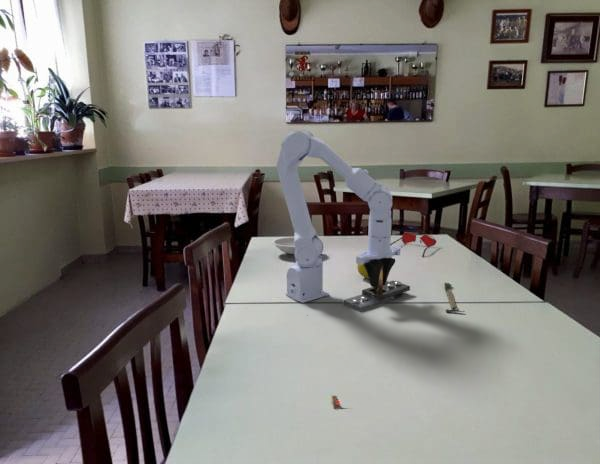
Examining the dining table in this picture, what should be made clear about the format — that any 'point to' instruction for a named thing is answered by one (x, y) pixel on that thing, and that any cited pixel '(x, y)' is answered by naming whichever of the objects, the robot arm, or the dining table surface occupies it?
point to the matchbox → (335, 402)
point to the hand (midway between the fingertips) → (377, 285)
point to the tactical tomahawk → (451, 300)
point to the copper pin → (380, 286)
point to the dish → (285, 244)
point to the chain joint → (376, 296)
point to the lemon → (362, 270)
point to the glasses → (412, 238)
